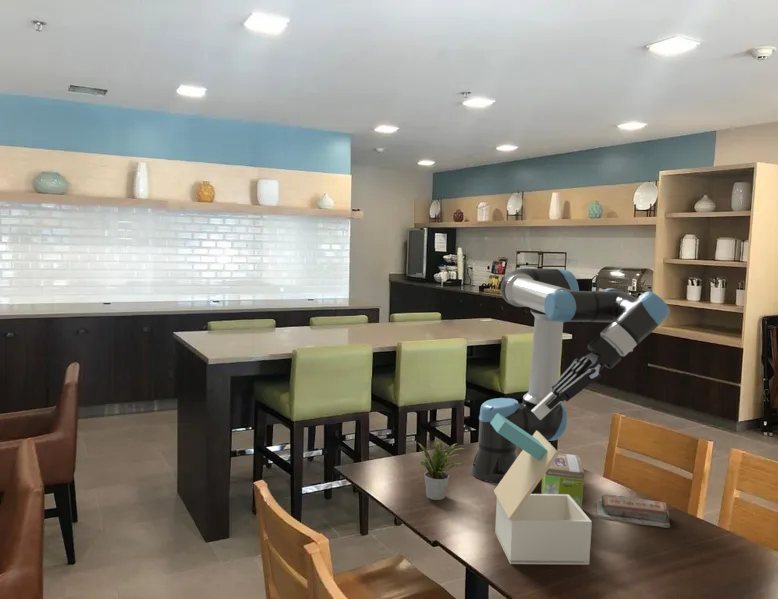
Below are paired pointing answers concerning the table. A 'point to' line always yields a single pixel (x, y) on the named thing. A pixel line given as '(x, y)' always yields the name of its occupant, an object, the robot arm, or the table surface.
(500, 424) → the teal slab on tray
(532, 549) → the carton
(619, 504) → the packaged product
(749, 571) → the table surface
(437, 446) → the house plant
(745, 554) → the table surface
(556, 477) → the tea box
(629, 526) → the table surface
